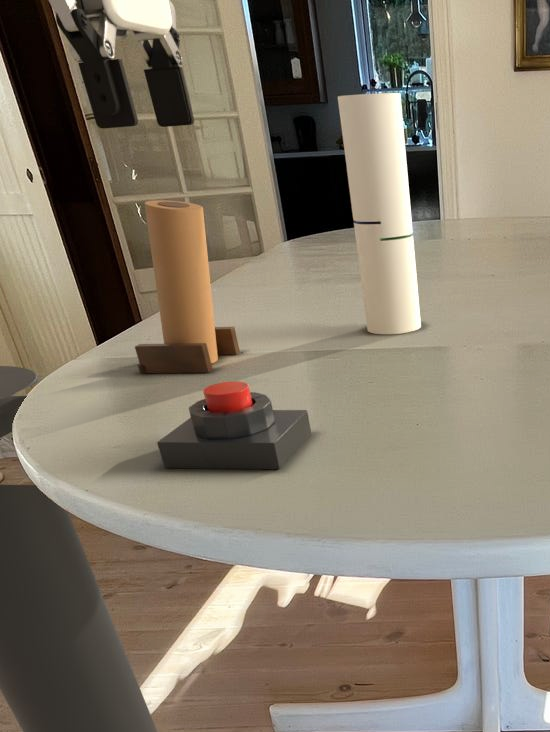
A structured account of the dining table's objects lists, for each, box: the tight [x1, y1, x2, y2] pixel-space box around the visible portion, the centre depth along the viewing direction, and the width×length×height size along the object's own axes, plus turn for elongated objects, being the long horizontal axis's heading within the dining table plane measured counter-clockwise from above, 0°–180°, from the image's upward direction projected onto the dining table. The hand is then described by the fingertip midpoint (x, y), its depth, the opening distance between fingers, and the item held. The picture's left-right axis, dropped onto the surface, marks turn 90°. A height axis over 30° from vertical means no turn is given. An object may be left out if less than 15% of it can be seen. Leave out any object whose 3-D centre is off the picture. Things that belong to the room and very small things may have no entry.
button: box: [202, 381, 253, 413], centre depth 61 cm, size 4×4×2 cm
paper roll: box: [144, 199, 219, 364], centre depth 83 cm, size 6×6×16 cm
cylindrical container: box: [337, 92, 422, 335], centre depth 91 cm, size 7×7×25 cm
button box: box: [156, 391, 312, 470], centre depth 62 cm, size 10×8×4 cm
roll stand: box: [134, 326, 241, 374], centre depth 87 cm, size 8×9×3 cm
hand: (149, 126), depth 60 cm, fingers open, 9 cm apart
